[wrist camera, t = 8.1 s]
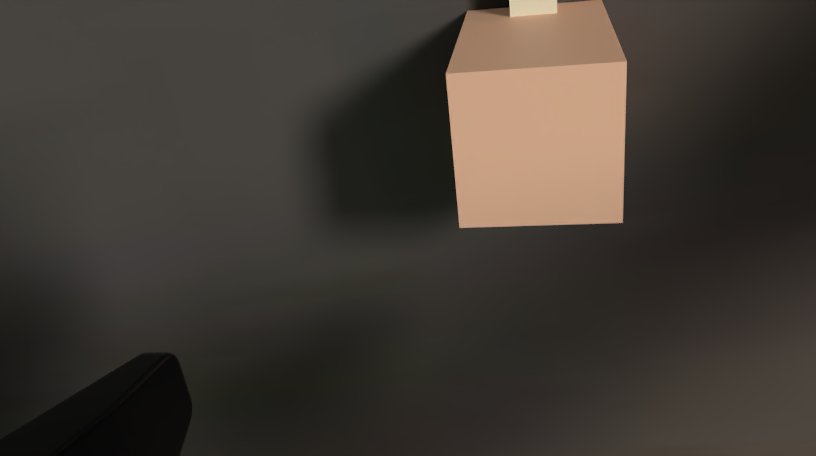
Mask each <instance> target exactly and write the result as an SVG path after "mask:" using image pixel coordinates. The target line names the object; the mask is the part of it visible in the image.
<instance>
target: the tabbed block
mask: <svg viewBox="0 0 816 456" xmlns="http://www.w3.org/2000/svg"><path fill="white" fill-rule="evenodd" d="M509 5H510V7H507V8H495V9H483V10H471V11H467V13H466V16H465V19H464V22H463V25H462V28H461V31H460V34H459V37H458V39H457V42H456V45H455V48H454V51H453V54H452V57H451V60H450V63H449V66H448V68H447V71H446V83H447V94H448V105H449V116H450V128H451V139H452V150H453V161H454V172H455V183H456V195H457V206H458V217H459V228H472V227H505V226H538V225H571V224H603V223H623V195H624V155H625V116H626V76H627V61H626V58H625V56H624V53H623V51H622V48H621V46H620V43H619V41H618V39H617V36H616V34H615V31H614V29H613V26H612V24H611V22H610V19H609V17H608V14H607V12H606V9H605V7H604V5H603V2H602V0H592V1H580V2H568V3H557V0H509Z"/></svg>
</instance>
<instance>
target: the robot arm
mask: <svg viewBox="0 0 816 456" xmlns="http://www.w3.org/2000/svg"><path fill="white" fill-rule="evenodd" d="M191 416H192V401H191V397H190V394H189V391H188V388H187V385H186V382H185V379H184V376H183V373H182V370H181V367H180V363H179V361H178V359H177V358H176V356H175V355H173V354H171V353H168V352H165V353H143V354H140V355H139V356H137V357H135V358H134V359H132V360H130V361H129V362H127V363H125V364H124V365H122V366H120V367H119V368H117V369H115V370H114V371H112V372H110V373H109V374H107V375H106V376H104V377H102V378H101V379H99V380H97V381H96V382H94V383H92V384H91V385H89V386H87V387H86V388H84V389H82V390H81V391H79V392H77V393H76V394H74V395H73V396H71V397H69V398H68V399H66V400H64V401H63V402H61V403H59V404H58V405H56V406H54V407H53V408H51V409H49V410H48V411H46V412H44V413H43V414H41V415H40V416H38V417H36V418H35V419H33V420H31V421H30V422H28V423H26V424H25V425H23V426H21V427H20V428H18V429H16V430H15V431H13V432H11V433H10V434H8V435H7V436H5V437H3V438H2V439H0V456H180V453H181V450H182V446H183V443H184V440H185V437H186V434H187V430H188V427H189V424H190V421H191Z"/></svg>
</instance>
